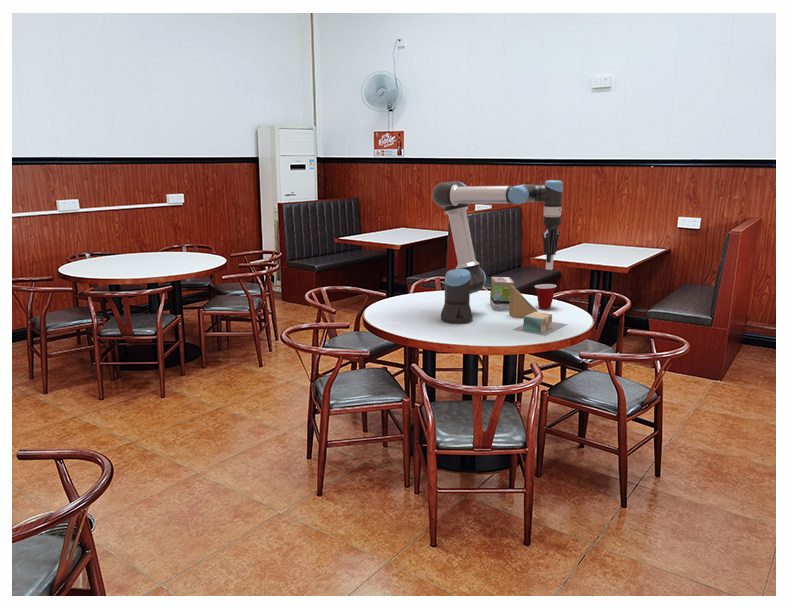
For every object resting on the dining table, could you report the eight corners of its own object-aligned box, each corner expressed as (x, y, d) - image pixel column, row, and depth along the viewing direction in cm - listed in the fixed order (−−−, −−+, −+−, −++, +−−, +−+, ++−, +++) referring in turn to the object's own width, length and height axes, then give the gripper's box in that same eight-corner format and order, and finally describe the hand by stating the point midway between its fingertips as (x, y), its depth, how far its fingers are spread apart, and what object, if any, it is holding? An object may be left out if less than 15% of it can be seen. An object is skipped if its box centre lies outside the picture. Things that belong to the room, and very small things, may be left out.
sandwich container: (544, 318, 296) (546, 288, 292) (512, 319, 295) (514, 288, 291) (539, 314, 304) (541, 284, 301) (508, 314, 303) (510, 284, 300)
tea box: (513, 311, 310) (514, 282, 307) (493, 310, 310) (494, 281, 307) (508, 304, 325) (510, 276, 321) (489, 303, 325) (490, 276, 321)
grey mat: (545, 336, 265) (545, 335, 265) (511, 330, 275) (511, 329, 275) (568, 325, 284) (568, 324, 284) (535, 319, 293) (535, 318, 293)
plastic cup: (536, 304, 323) (537, 282, 320) (557, 307, 318) (558, 284, 316) (530, 309, 313) (532, 286, 311) (552, 311, 309) (554, 288, 306)
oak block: (551, 327, 279) (539, 332, 270) (535, 324, 284) (523, 329, 275) (552, 314, 278) (540, 319, 268) (535, 311, 282) (523, 316, 273)
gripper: (553, 217, 264) (550, 272, 270) (566, 215, 274) (563, 268, 279) (537, 216, 269) (534, 270, 274) (551, 214, 279) (548, 266, 284)
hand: (549, 269), depth 277 cm, fingers closed
